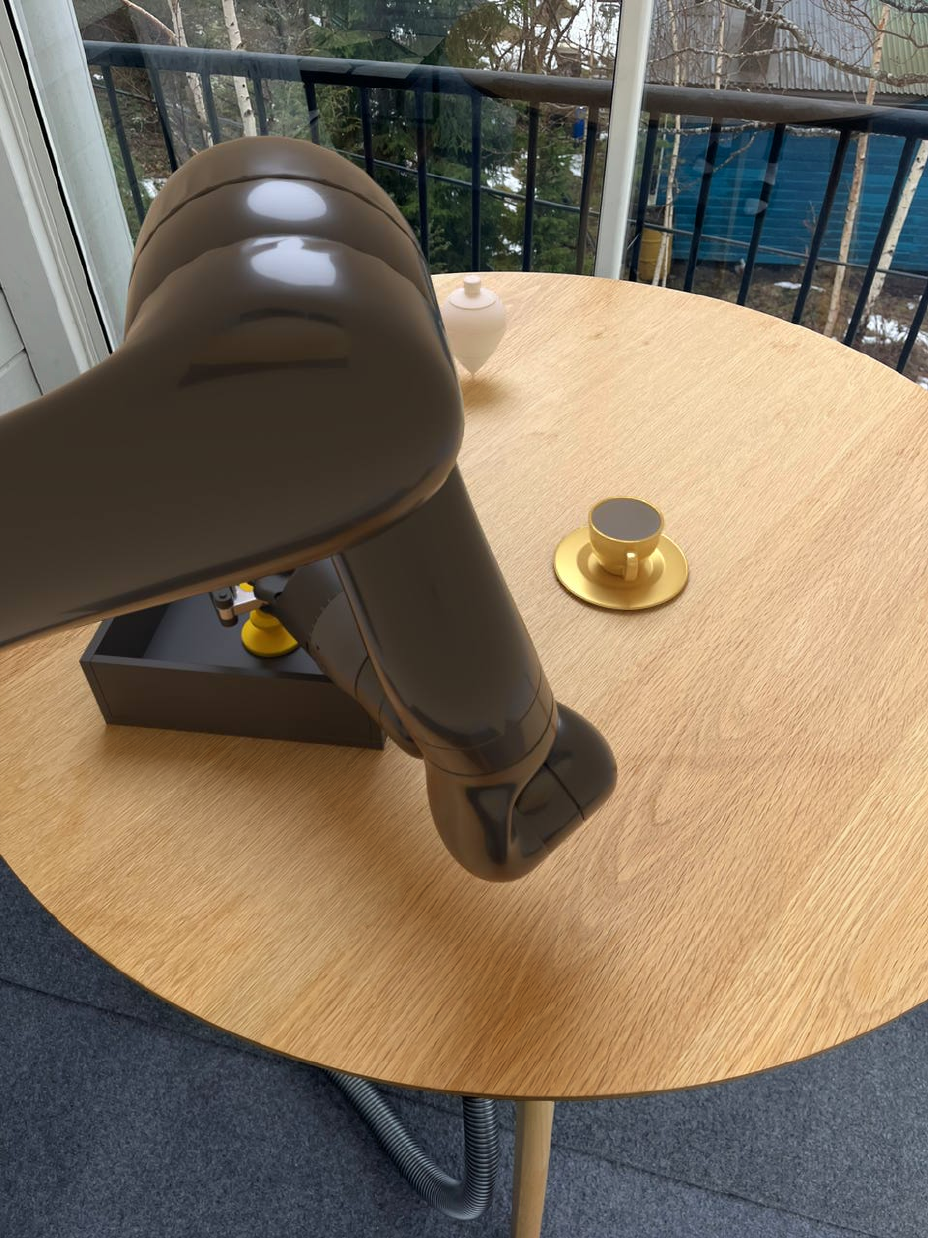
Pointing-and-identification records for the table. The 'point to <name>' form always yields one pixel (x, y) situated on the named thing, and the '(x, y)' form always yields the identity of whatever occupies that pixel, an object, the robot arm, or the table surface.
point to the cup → (621, 557)
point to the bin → (215, 681)
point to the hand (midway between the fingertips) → (240, 505)
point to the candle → (265, 633)
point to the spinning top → (473, 323)
